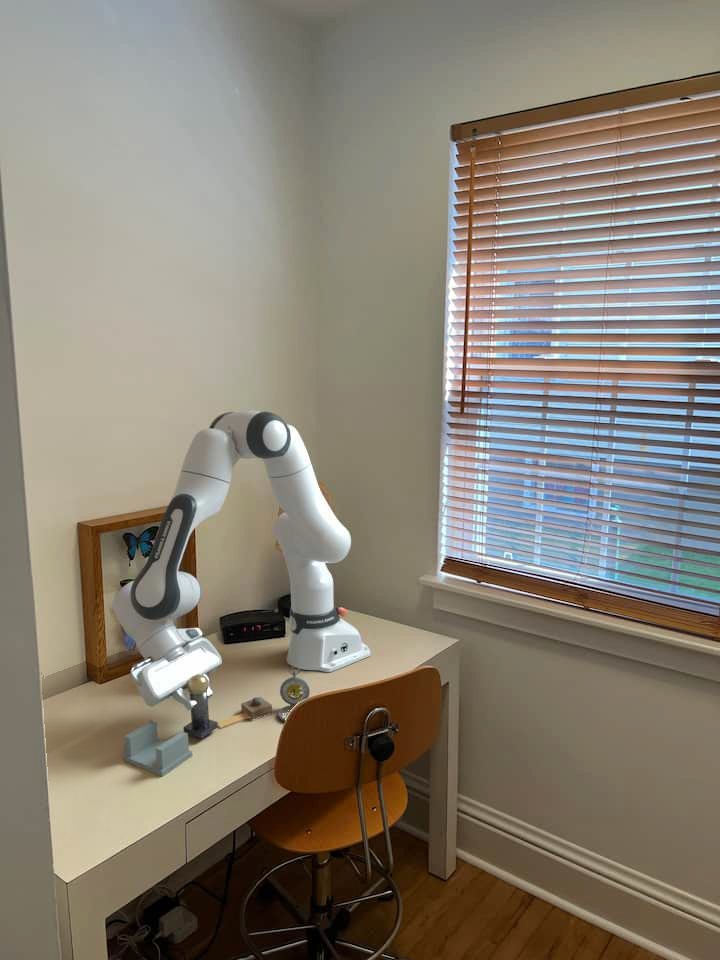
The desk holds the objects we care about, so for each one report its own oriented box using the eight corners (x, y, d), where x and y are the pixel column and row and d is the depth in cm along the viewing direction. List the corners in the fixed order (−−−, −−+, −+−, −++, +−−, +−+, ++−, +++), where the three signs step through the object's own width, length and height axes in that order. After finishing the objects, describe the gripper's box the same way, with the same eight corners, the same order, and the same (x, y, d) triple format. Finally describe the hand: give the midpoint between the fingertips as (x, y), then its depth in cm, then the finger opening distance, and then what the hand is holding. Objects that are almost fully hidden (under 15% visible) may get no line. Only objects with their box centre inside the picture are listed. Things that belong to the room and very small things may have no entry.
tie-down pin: (200, 721, 150) (197, 668, 148) (217, 727, 148) (214, 673, 145) (183, 732, 146) (180, 677, 144) (201, 738, 143) (198, 683, 141)
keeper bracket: (122, 760, 137) (120, 737, 137) (153, 741, 144) (151, 718, 143) (162, 776, 132) (161, 752, 131) (192, 755, 139) (191, 732, 138)
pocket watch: (286, 727, 149) (285, 684, 148) (270, 710, 156) (268, 669, 155) (319, 716, 154) (319, 674, 152) (302, 701, 161) (301, 660, 159)
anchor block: (261, 704, 159) (260, 691, 159) (272, 713, 155) (271, 700, 155) (241, 711, 156) (241, 698, 156) (252, 720, 152) (252, 707, 152)
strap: (253, 710, 157) (253, 709, 156) (259, 714, 155) (259, 713, 155) (215, 724, 151) (215, 722, 151) (220, 728, 149) (220, 727, 149)
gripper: (133, 660, 138) (172, 717, 135) (204, 625, 155) (240, 675, 152) (119, 676, 141) (157, 732, 138) (190, 640, 158) (225, 689, 155)
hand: (201, 702), depth 145 cm, fingers closed on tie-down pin, 4 cm apart
